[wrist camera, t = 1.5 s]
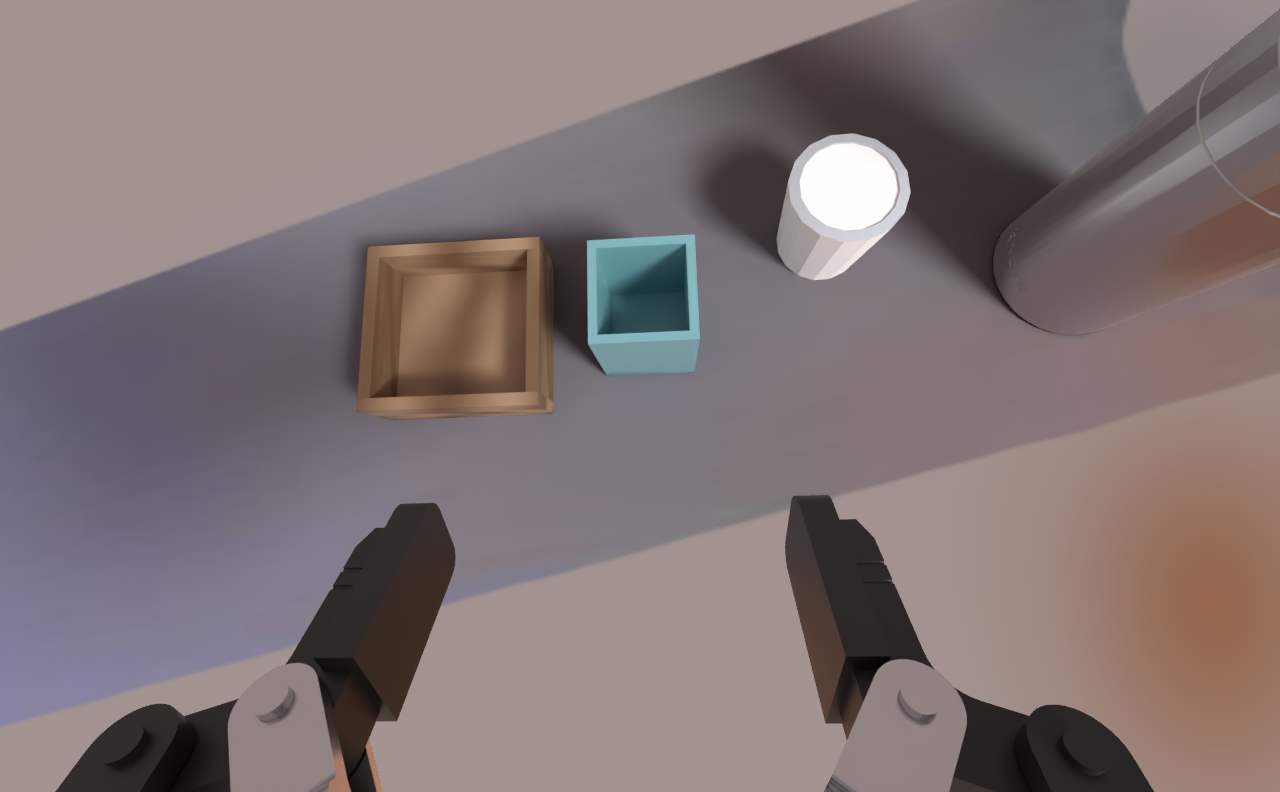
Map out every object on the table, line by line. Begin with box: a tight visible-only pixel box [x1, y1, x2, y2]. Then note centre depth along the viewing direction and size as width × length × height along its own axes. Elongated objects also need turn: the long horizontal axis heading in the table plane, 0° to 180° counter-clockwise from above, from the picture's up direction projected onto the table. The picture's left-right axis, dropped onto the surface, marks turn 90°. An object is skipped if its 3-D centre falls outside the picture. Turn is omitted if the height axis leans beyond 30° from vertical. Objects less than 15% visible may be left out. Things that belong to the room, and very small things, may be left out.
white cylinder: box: [777, 133, 911, 280], centre depth 33 cm, size 7×7×7 cm
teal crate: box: [587, 234, 700, 376], centre depth 32 cm, size 6×6×8 cm
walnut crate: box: [356, 237, 554, 420], centre depth 35 cm, size 12×11×4 cm
